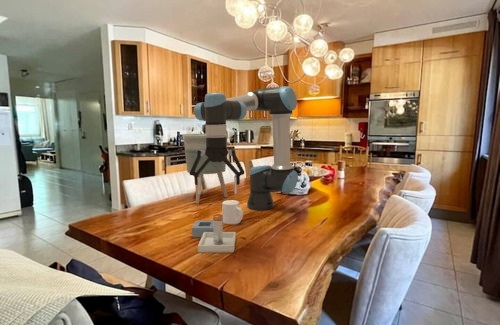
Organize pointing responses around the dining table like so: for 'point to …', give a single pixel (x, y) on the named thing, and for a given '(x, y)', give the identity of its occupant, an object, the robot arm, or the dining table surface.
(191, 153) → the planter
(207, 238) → the tray
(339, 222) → the dining table surface
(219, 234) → the spice jar
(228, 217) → the mug
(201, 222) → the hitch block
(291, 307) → the dining table surface
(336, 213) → the dining table surface
